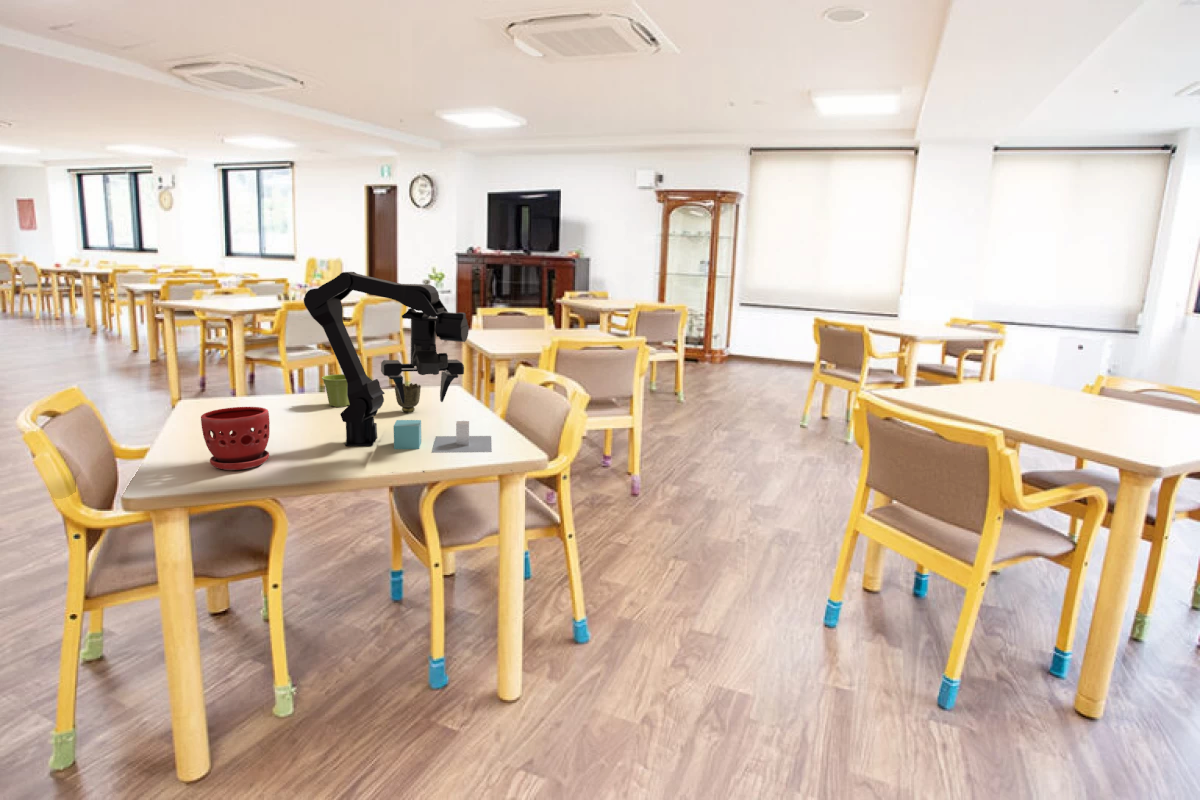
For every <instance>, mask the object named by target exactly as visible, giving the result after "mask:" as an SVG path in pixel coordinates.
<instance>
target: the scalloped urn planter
mask: <svg viewBox="0 0 1200 800" xmlns="http://www.w3.org/2000/svg"><path fill="white" fill-rule="evenodd" d="M393 388H394V392H395V399H396V402H397V405H399V407H401V412H402V413H406V414H411V413H413V412H415V410H416V409H415V407H416V406H417V405H418V404H419V403H420V397H421V388H422V385H420V384H417V383H413V382H411V383H409V385H406V384H405V383H403V389H404V403H402V401H401V398H400V396H399V393H398V390H397V387H396V385H395V386H394V387H393Z"/></svg>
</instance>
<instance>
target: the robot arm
mask: <svg viewBox="0 0 1200 800" xmlns="http://www.w3.org/2000/svg"><path fill="white" fill-rule="evenodd" d="M353 291H355V292H360V293H363V294H368V295H372V296H378V297H381V298H385V299H391V300H394V301H396V302H398V303H400V304H402V305H403V306H405V307H407V308H408V309H407V311H406V312H405V313H404V314H402V315H401V318H402V319H406V320H407V319H408V320H410V363H401V362H400V361H399V359H386V360H385V359H383V360H382V361H381V362H380V372H381V374H382V375H383V376H384V377H385V376H386V377H388V378H389V379H390V380H393V382H394V384H395V385H396V387H397V390H398V393H399V396H400V398H401V401H402V403H404V389H403V384H404V377H403V375H402V372H417V374H419V375H420V376H425V375H433V376H437V375H439V374H440V372H441V375H440V390H439V398H440V399H439V400H440V403H443V402H444V400H445V397H446V394H447V391H448V389H449V387H450V385H451V383H452V381H453V380H454V379H457V378H458V379H459V375H460V376H461V375H462V376H463V375H465V366H464V364H463V363H462V362H461V361H460V360H458V359H448V358H449V355H448V353H447V352H439V353H438V352H437V344H436V337H437V338H439V339H440V341H449V342H459V343H460V342H461V343H465V342H466V341H467V339H468V337H469V329H470V326H469V325H468V319H467V315H466V312H449V311H448V309H447V308H446V306H445V305H444V303H443V302H442V301H441V299H440V294H439V291H438V290H437V289H436V287H435V286H434V285H432V284H421V283H419V284H418V283H399V282H394V281H390V280H386V279H382V278H377V277H372V276H369V275H365V274H360V273H357V272H355V271H344V272H341V273H339V275H336V276H335V277H334V278H332V279H330V280H329V281H327V282H325V283H324V284H322V285H320V286H319V287H315V288H311V289H309V290H307V291H306V293H305V294H304V297H303V304H304V307H305V308H306V310H307V312H308V313H309V314H310V316H311V318H312V319H314V320H315V322H317V324H319V326H321V327H322V329H323V331H324V333H325V335H326V337H327V340H328V342H329V344H330V346H331V349H332V351H333V354H334V356H335V358H336V360H337V363H338V364H339V366H340V367H339V368H340V369H341V371H342V374H344V376H345V378H346V381H347V396H348V400H349V404H350V405H347V406H346V407H345V409H344V410H343V411H342V412H341V413H339V414H340V418H341V421H342V422H343V423H345V437H346V438H345V439H346V440H345V441H346V442H345V443H344V445H345V446H346V447H349V446H350V447H357V446H358V447H361V446H363V447H364V446H366V447H367V446H373V445H374V443H375V442H376V441H377V439H378V425H377V422H375V416H376V415H377V414H378V410H379V409H381V408H382V406H383V404H384V401H385V399H384V395H385V392H384V391H383V390H382V388H381V384H380V381H379V379H378V378H376V379H374V380H372V379H371V378H370V377H369V376H368V375H367V373H366V371H365V369H364V367H363V364H362V363H361V362H362V361H361V360H360V357H359V355H358V352H357V351H356V348H355V346H354V344H353V341H352V340H351V336H350V334H349V333H348V330H347V328H346V325H345V323H344V320H343V309H344V308H343V305H342V301H343V300H344V299H346V298H347V297H348V296H349V295H350V293H352V292H353Z"/></svg>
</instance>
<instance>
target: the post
mask: <svg viewBox="0 0 1200 800" xmlns="http://www.w3.org/2000/svg"><path fill="white" fill-rule="evenodd" d="M455 422H456V424H455V426H456V427H455V429H456V430H455V432H456V433H455V436H456V446H465V445H469V436H470V421H469V420H457V421H455Z"/></svg>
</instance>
